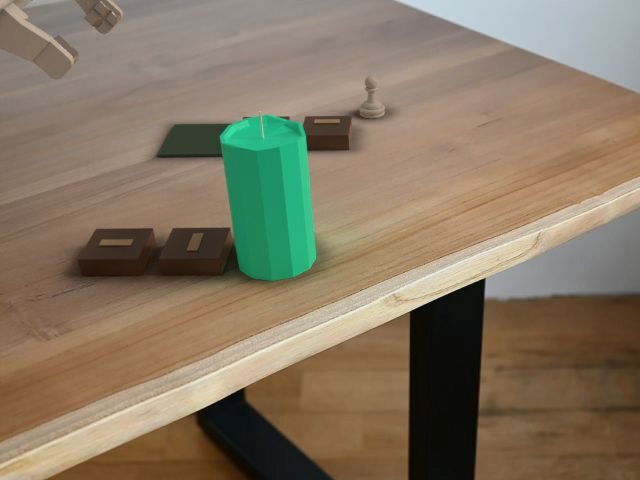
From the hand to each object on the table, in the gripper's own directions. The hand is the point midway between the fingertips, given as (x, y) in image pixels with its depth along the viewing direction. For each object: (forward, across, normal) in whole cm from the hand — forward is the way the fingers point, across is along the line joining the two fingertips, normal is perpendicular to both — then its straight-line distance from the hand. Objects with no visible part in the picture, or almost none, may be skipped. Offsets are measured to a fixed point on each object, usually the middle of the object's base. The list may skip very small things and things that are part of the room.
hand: (94, 45), depth 59 cm
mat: (+12, -22, -11) cm, 28 cm away
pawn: (+23, -28, +1) cm, 37 cm away
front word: (+14, -2, -10) cm, 17 cm away
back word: (+18, -22, -4) cm, 29 cm away
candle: (+20, -2, -4) cm, 20 cm away
